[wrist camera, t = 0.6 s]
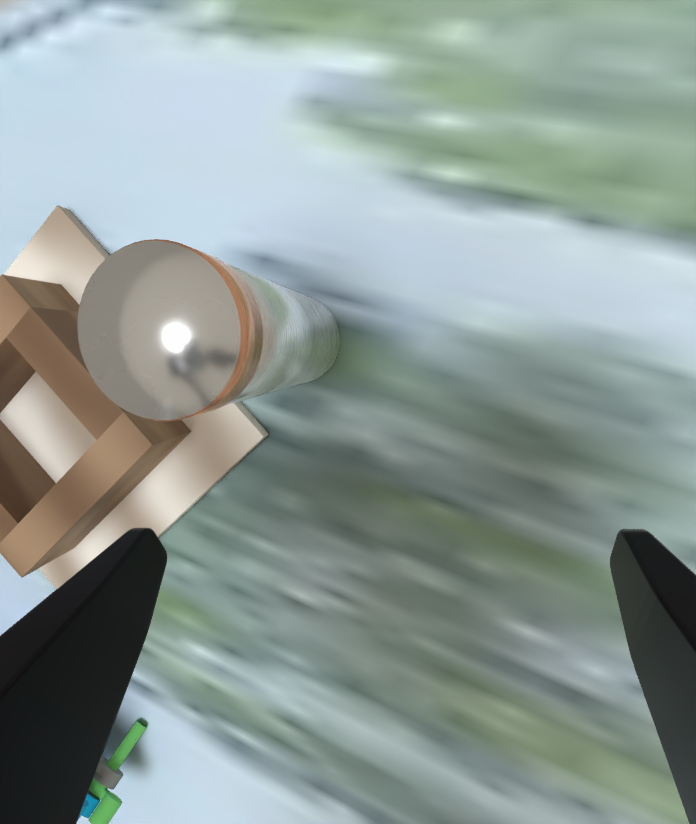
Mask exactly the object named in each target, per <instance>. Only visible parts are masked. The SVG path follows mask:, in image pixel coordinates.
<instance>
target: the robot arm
mask: <svg viewBox="0 0 696 824" xmlns="http://www.w3.org/2000/svg"><path fill="white" fill-rule="evenodd" d="M166 563H167V553H166V550H165V548H164V547H163V545H162V543H161V542H160V540H159V538H158V537H157V535H156V533H155V532H154V531H153V530H152V529H151V528H132V529H130V530H128V531H127V532H126V533H124V534H123V535H122V536H121V537H120V538H118V539H117V540H116V541H115V542H113V543H112V544H111V545H110V546H109V547H107V548H106V549H105V550H104V551H103V552H101V553H100V554H99V555H98V556H97V557H95V558H94V559H93V560H92V561H90V562H89V563H88V564H87V565H86V566H84V567H83V568H82V569H81V570H80V571H78V572H77V573H76V574H75V575H73V576H72V577H71V578H70V579H69V580H67V581H66V582H65V583H64V584H63V585H61V586H60V587H59V588H58V589H57V590H55V591H54V592H53V593H52V594H50V595H49V596H48V597H47V598H46V599H44V600H43V601H42V602H41V603H40V604H38V605H37V606H36V607H35V608H33V609H32V610H31V611H30V612H29V613H27V614H26V615H25V616H24V617H23V618H21V619H20V620H19V621H18V622H16V623H15V624H14V625H13V626H12V627H10V628H9V629H8V630H7V631H6V632H4V633H3V634H2V635H1V636H0V824H76V823H77V820H78V818H79V815H80V812H81V810H82V807H83V804H84V802H85V799H86V796H87V794H88V791H89V788H90V786H91V783H92V780H93V778H94V775H95V772H96V770H97V767H98V764H99V762H100V759H101V756H102V754H103V751H104V748H105V746H106V743H107V740H108V738H109V735H110V732H111V730H112V727H113V724H114V722H115V719H116V716H117V714H118V711H119V708H120V706H121V703H122V700H123V698H124V695H125V692H126V690H127V687H128V684H129V682H130V679H131V676H132V674H133V671H134V668H135V666H136V663H137V660H138V658H139V655H140V652H141V650H142V647H143V644H144V641H145V639H146V636H147V633H148V629H149V626H150V623H151V619H152V616H153V612H154V608H155V604H156V601H157V597H158V593H159V589H160V586H161V582H162V578H163V574H164V571H165V567H166ZM610 568H611V573H612V577H613V582H614V586H615V590H616V595H617V599H618V603H619V608H620V612H621V616H622V621H623V625H624V629H625V634H626V638H627V642H628V646H629V650H630V654H631V658H632V661H633V664H634V667H635V670H636V673H637V676H638V679H639V682H640V684H641V687H642V690H643V693H644V696H645V699H646V701H647V704H648V707H649V710H650V713H651V716H652V718H653V721H654V724H655V727H656V730H657V733H658V735H659V738H660V741H661V744H662V747H663V750H664V752H665V755H666V758H667V761H668V764H669V767H670V770H671V772H672V775H673V778H674V781H675V784H676V787H677V789H678V792H679V795H680V798H681V801H682V804H683V806H684V809H685V812H686V815H687V818H688V821H689V823H690V824H696V575H695V574H694V573H693V572H692V571H691V570H690V569H689V568H688V567H687V566H686V565H684V564H683V563H682V562H681V561H680V560H679V559H678V558H677V557H676V556H675V555H674V554H673V553H671V552H670V551H669V550H668V549H667V548H666V547H665V546H664V545H663V544H662V543H661V542H660V541H658V540H657V539H656V538H655V537H654V536H653V535H652V534H651V533H650V532H648V531H646V530H643V529H622V530H620V531H619V532H618V534H617V537H616V540H615V544H614V547H613V550H612V554H611V557H610Z"/></svg>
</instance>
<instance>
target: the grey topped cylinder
mask: <svg viewBox="0 0 696 824" xmlns="http://www.w3.org/2000/svg"><path fill="white" fill-rule="evenodd" d="M77 330H78V340H79V345H80V350H81V354H82V357H83V360H84V363H85V365H86V367H87V369H88V371H89V373H90V375H91V377H92V378H93V380H94V382H95V383H96V384H97V386H98V387H99V388H100V389H101V391H102V392H103V393H104V394H105V395H106V396H107V397H108V398H109V399H110V400H111V401H113V402H114V403H115V404H116V405H118V406H119V407H121V408H122V409H124V410H126V411H127V412H129V413H131V414H134V415H136V416H138V417H141V418H144V419H148V420H154V421H177V420H182V419H186V418H189V417H192V416H196V415H199V414H203V413H206V412H210V411H213V410H216V409H218V408H221V407H223V406H225V405H228V404H232V403H235V402H239V401H243V400H246V399H250V398H253V397H257V396H260V395H264V394H268V393H271V392H275V391H278V390H282V389H285V388H289V387H292V386H296V385H300V384H303V383H307V382H310V381H313V380H315V379H318V378H319V377H321V376H322V375H324V374H325V373H326V372H327V371H328V370H329V369H330V368H331V366H332V365H333V363H334V361H335V360H336V357H337V355H338V351H339V347H340V333H339V328H338V325H337V322H336V320H335V318H334V316H333V315H332V313H331V312H330V311H329V309H328V308H327V307H326V306H325V305H323V304H322V303H321V302H319V301H317V300H316V299H313V298H311V297H308V296H306V295H303V294H301V293H298V292H296V291H293V290H291V289H288V288H286V287H283V286H281V285H278V284H276V283H273V282H271V281H268V280H266V279H263V278H261V277H258V276H255V275H253V274H250V273H248V272H245V271H243V270H240V269H238V268H235V267H233V266H230V265H228V264H226V263H224V262H222V261H221V260H219V259H217V258H215V257H213V256H210V255H208V254H205V253H203V252H200V251H198V250H196V249H193V248H191V247H188V246H186V245H183V244H180V243H177V242H173V241H168V240H158V239H155V240H144V241H140V242H135V243H132V244H130V245H127V246H125V247H123V248H121V249H119V250H118V251H116V252H114V253H113V254H112V255H110V256H109V257H108V258H106V259H105V260H104V261H103V262H102V263H101V264H100V265H99V266H98V267H97V269H96V270H95V272H94V273H93V274H92V276H91V277H90V279H89V281H88V283H87V285H86V287H85V289H84V292H83V295H82V298H81V302H80V306H79V312H78V326H77Z"/></svg>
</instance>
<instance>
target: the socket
mask: <svg viewBox="0 0 696 824" xmlns="http://www.w3.org/2000/svg"><path fill="white" fill-rule="evenodd" d="M109 256H110V255H109V254H108V253H107V252H106V251H105V249H104V248H103V247H102V246H101V245H100V244H99V243H98V242H97V240H96V239H95V238H94V237H93V236H92V235H91V234H90V233H89V231H88V230H87V229H86V228H85V227H84V226H83V225H82V224H81V222H80V221H79V220H78V219H77V218H76V217H75V216H74V215H73V213H72V212H71V211H70V210H68V209H66V208H63V207H60V206H58V205H57V207H56V208H55V209H54V211H53V212H52V213H51V214H50V216H49V217H48V218H47V220H46V221H45V222H44V223H43V225H42V226H41V227H40V229H39V230H38V231H37V232H36V234H35V235H34V236H33V238H32V239H31V240H30V241H29V243H28V244H27V245H26V247H25V248H24V249H23V250H22V252H21V253H20V254H19V256H18V257H17V258H16V259H15V261H14V262H13V263H12V265H11V266H10V267H9V268H8V270H7V271H6V272H5V274H4V275H1V276H0V553H1V554H2V556H3V557H4V558H5V559H6V560H7V561H8V563H9V564H10V565H11V566H12V567H13V568H14V569H15V571H16V572H17V573H18V574H19V575H20V576H21V577H24V576H26V575H27V574H29V573H31V572H33V571H35V570H36V569H38V568H39V570H40V571H41V572H42V573H43V574H44V575H45V576H46V578H47V579H48V580H49V581H50V582H51V583H52V584H53V586H54V587H55V588H56V589H58V588H59V587H60V586H61V585H63V584H64V583H65V582H66V581H67V580H69V579H70V578H71V577H72V576H73V575H75V574H76V573H77V572H78V571H80V570H81V569H82V568H83V567H84V566H86V565H87V564H88V563H89V562H90V561H92V560H93V559H94V558H95V557H97V556H98V555H99V554H100V553H101V552H103V551H104V550H105V549H106V548H107V547H109V546H110V545H111V544H112V543H113V542H115V541H116V540H117V539H118V538H120V537H121V536H122V535H123V534H124V533H126V532H127V531H128V530H130V529H132V528H151V529H152V530H153V531H154V532H155V533H156V535H157V537H158V538H159V537H160V536H161V535H162V534H163V533H164V532H165V531H166V530H167V529H169V528H170V527H171V526H172V525H173V524H174V523H175V522H176V521H177V520H178V519H179V518H180V517H181V516H182V515H183V514H184V513H186V512H187V511H188V510H189V509H190V508H191V507H192V506H193V505H194V504H195V503H196V502H197V501H198V500H199V499H200V498H202V497H203V496H204V495H205V494H206V493H207V492H208V491H209V490H210V489H211V488H212V487H213V486H214V485H215V484H216V483H218V482H219V481H220V480H221V479H222V478H223V477H224V476H225V475H226V474H227V473H228V472H229V471H230V470H231V469H232V468H233V467H235V466H236V465H237V464H238V463H239V462H240V461H241V460H242V459H243V458H244V457H245V456H246V455H247V454H248V453H249V452H251V451H252V450H253V449H254V448H255V447H256V446H257V445H258V444H259V443H260V442H261V441H262V440H263V439H264V438H265V437H266V436H268V435H269V433H268V432H267V431H266V430H265V429H264V428H263V427H262V426H261V424H260V423H259V422H258V421H257V420H256V419H255V418H254V417H253V415H252V414H251V413H250V412H249V411H248V410H247V409H246V408H245V406H244V405H243V404H242V403H241V402H240V401H239V402H235V403H232V404H228V405H225V406H223V407H221V408H218V409H216V410H213V411H210V412H206V413H203V414H199V415H196V416H192V417H189V418H186V419H182V420H177V421H154V420H148V419H144V418H141V417H138V416H136V415H134V414H131V413H129V412H127V411H126V410H124V409H122V408H121V407H119V406H118V405H116V404H115V403H114V402H113V401H111V400H110V399H109V398H108V397H107V396H106V395H105V394H104V393H103V392H102V391H101V389H100V388H99V387H98V386H97V384H96V383H95V382H94V380H93V378H92V377H91V375H90V373H89V371H88V369H87V367H86V365H85V363H84V360H83V357H82V354H81V350H80V345H79V340H78V330H77V326H78V312H79V306H80V302H81V298H82V295H83V292H84V289H85V287H86V285H87V283H88V281H89V279H90V277H91V276H92V274H93V273H94V272H95V270H96V269H97V267H98V266H99V265H100V264H101V263H102V262H103V261H104V260H105V259H106V258H108V257H109Z"/></svg>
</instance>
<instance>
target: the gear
mask: <svg viewBox="0 0 696 824" xmlns="http://www.w3.org/2000/svg"><path fill="white" fill-rule="evenodd" d="M145 729H146V727H145V726H143V725H142V724H141V723H139V722H138V721H136V723H135V724H134V725H133V727H132V728H131V730H130V731H129V732H128V734H127V735H126V737H125V738H124V740H123V741H122V742H121V744H120V745H119V747H118V748H117V749H116V751H115V752H114V754H113V755H112V757H111V758H110V759H109V761H107V760H106V759H105V758H103V757H102V756H101V759H100V762H99V764H98V767H97V770H96V772H95V775H94V778H93V780H92V783H91V786H90V788H89V791H88V794H87V796H86V799H85V802H84V804H83V807H82V810H81V812H80V815H79V818H80V816H81V815H82V816H84V817H86V818H89V817H90V818H89V821H90V823H91V824H108V823H109V822H110V820H111V819H112V817H113V816H114V814H115V813H116V811H117V810H118V808H119V807H120V805H121V804H122V801H121V799H120V798H119V797H117V796H116V795H115V794H113V793H111V792H110V791H108V790H107V789H108V788H109V789H114V788H115V787H116V785H117V784H118V782H119V781H120V779H121V778H122V776H123V773H122V772H121V771H120V770H119V769H118V768H119V767H120V766H121V764H122V763H123V761H124V760H125V758H126V757H127V755H128V754H129V753H130V751H131V750H132V748H133V747H134V745H135V744H136V742H137V741H138V739H139V738H140V737H141V735H142V734H143V732H144V731H145ZM100 799H101V802H100ZM99 802H100V803H99ZM98 804H99V805H98ZM97 805H98V806H97ZM96 807H97V808H96ZM95 808H96V809H95ZM94 809H95V811H94ZM93 811H94V812H93ZM92 812H93V813H92ZM91 814H92V815H91ZM90 815H91V816H90ZM79 818H78V819H79ZM77 821H78V820H77Z"/></svg>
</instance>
